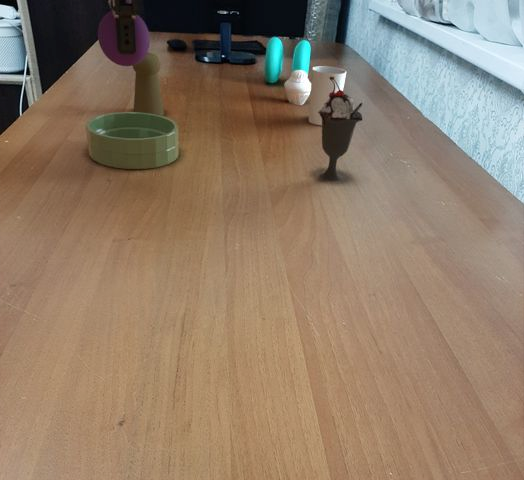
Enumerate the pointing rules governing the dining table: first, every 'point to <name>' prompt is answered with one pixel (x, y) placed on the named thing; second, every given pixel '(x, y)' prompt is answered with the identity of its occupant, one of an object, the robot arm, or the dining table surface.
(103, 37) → the ball
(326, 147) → the sundae
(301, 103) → the muffin
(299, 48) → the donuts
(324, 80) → the white paper cup
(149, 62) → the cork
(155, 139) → the bowl
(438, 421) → the dining table surface
